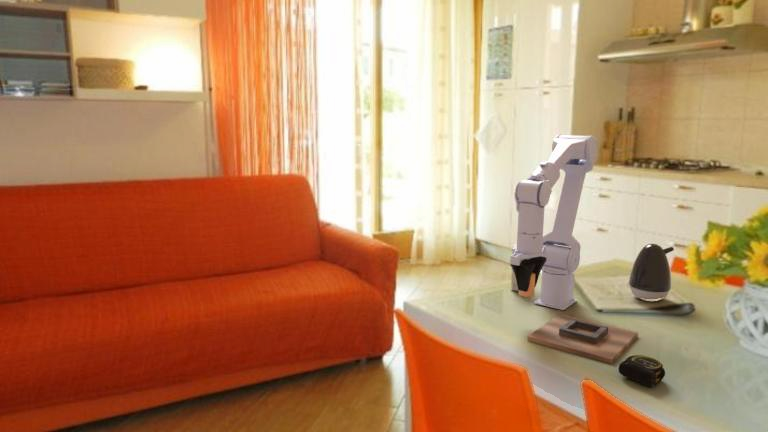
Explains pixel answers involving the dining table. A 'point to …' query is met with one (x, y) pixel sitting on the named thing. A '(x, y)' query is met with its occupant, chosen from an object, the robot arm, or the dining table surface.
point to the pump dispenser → (651, 273)
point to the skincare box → (513, 278)
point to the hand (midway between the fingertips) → (526, 288)
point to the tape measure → (642, 370)
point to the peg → (531, 287)
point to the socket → (584, 337)
